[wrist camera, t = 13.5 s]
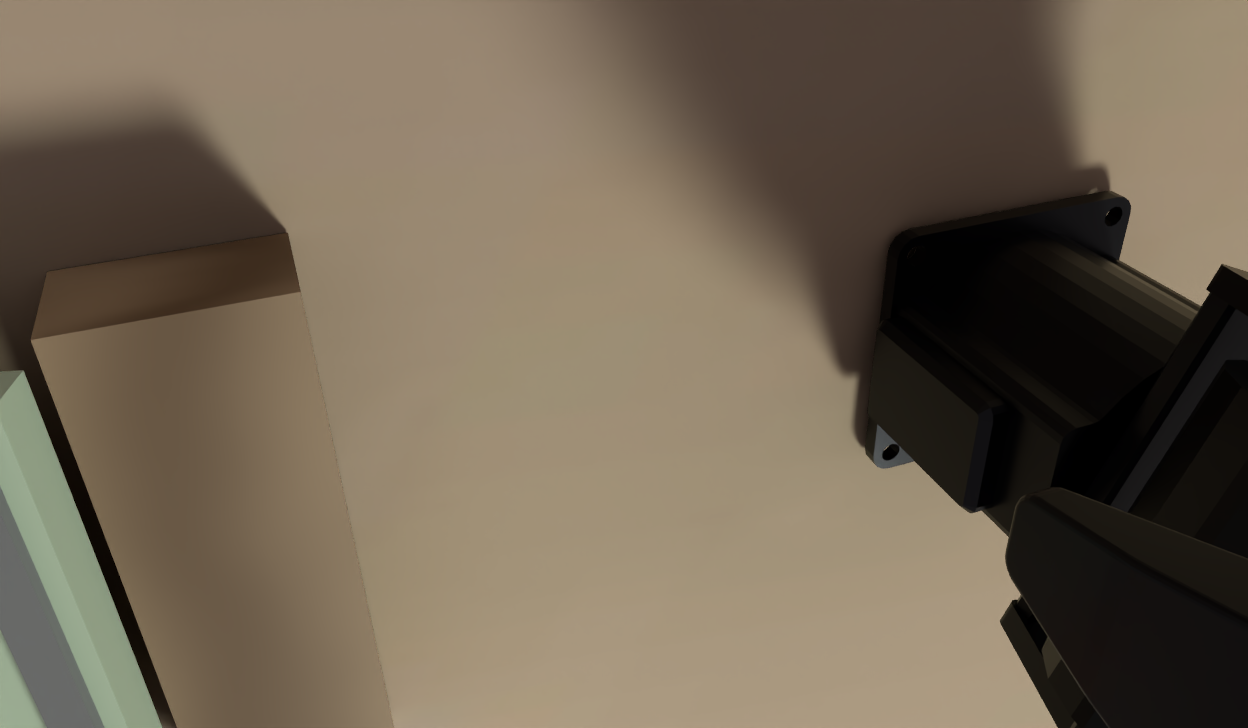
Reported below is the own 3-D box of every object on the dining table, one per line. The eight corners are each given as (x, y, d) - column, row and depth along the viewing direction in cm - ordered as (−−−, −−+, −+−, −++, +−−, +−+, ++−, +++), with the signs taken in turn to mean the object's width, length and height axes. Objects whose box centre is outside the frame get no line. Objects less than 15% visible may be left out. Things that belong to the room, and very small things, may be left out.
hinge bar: (287, 232, 19) (300, 291, 17) (391, 715, 26) (409, 797, 24) (47, 271, 18) (30, 340, 16) (222, 764, 25) (225, 856, 23)
